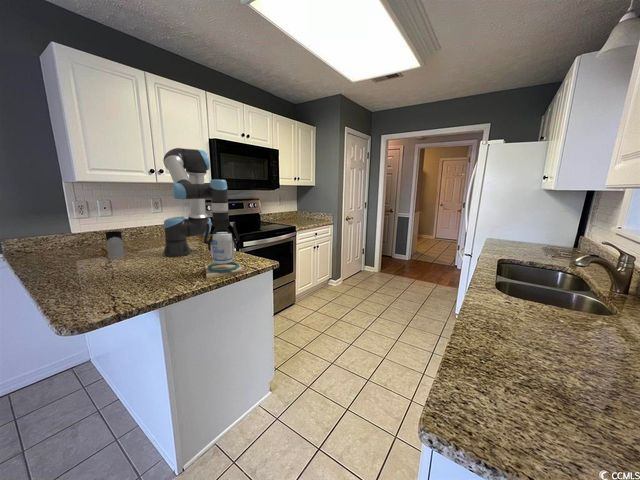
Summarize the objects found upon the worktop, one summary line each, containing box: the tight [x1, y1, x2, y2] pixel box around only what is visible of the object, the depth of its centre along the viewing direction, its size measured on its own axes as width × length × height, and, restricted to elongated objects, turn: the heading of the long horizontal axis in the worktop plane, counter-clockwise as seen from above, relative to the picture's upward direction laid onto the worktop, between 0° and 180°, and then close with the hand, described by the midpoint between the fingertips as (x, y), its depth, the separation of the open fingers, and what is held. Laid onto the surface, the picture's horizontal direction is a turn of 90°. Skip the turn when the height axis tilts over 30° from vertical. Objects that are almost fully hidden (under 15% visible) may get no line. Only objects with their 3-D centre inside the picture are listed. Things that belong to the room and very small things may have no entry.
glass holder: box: [104, 230, 126, 259], centre depth 161 cm, size 9×14×15 cm, turn 41°
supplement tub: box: [211, 231, 234, 264], centre depth 133 cm, size 10×10×15 cm
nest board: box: [204, 261, 245, 279], centre depth 135 cm, size 18×17×3 cm
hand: (223, 255), depth 134 cm, fingers closed on supplement tub, 10 cm apart
